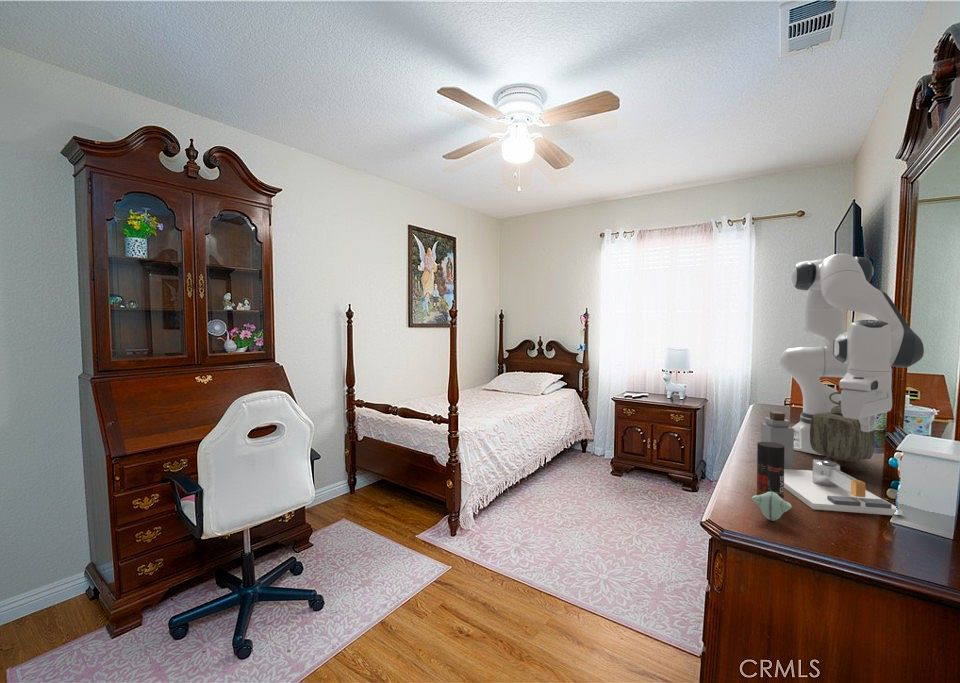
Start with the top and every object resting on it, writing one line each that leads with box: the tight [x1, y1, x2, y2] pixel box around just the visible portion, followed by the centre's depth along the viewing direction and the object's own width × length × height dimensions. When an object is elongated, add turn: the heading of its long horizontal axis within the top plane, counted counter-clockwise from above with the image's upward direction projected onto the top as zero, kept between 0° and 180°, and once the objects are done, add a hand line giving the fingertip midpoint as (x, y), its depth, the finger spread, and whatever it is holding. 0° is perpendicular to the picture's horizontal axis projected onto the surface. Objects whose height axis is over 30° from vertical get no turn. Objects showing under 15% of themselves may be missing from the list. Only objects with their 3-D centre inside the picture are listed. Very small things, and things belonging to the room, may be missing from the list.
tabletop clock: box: [810, 391, 876, 473], centre depth 137 cm, size 14×9×25 cm, turn 17°
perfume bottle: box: [760, 411, 795, 470], centre depth 139 cm, size 7×7×18 cm
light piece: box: [811, 459, 867, 497], centre depth 114 cm, size 20×6×6 cm, turn 168°
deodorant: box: [756, 441, 785, 501], centre depth 111 cm, size 6×6×15 cm
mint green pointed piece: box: [751, 492, 792, 522], centre depth 100 cm, size 8×4×7 cm, turn 47°
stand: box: [784, 469, 897, 516], centre depth 118 cm, size 28×19×3 cm
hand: (867, 431), depth 113 cm, fingers closed
